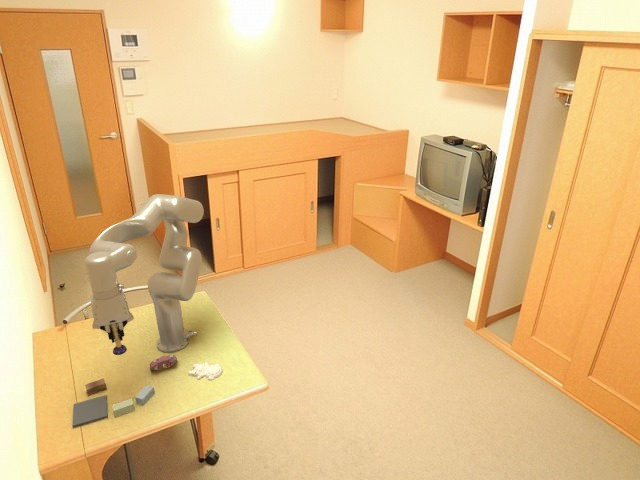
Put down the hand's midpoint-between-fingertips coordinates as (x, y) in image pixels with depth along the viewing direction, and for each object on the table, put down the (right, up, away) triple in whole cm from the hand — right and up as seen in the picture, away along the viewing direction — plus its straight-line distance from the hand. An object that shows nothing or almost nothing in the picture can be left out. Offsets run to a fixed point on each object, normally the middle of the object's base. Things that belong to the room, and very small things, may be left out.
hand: (117, 338), depth 144 cm
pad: (-9, -24, +1) cm, 26 cm away
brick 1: (-12, -20, +10) cm, 26 cm away
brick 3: (+6, -22, +7) cm, 24 cm away
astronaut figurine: (+24, -17, +20) cm, 35 cm away
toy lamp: (0, -5, +2) cm, 5 cm away
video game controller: (+8, -16, +21) cm, 28 cm away
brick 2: (+1, -24, +2) cm, 24 cm away
